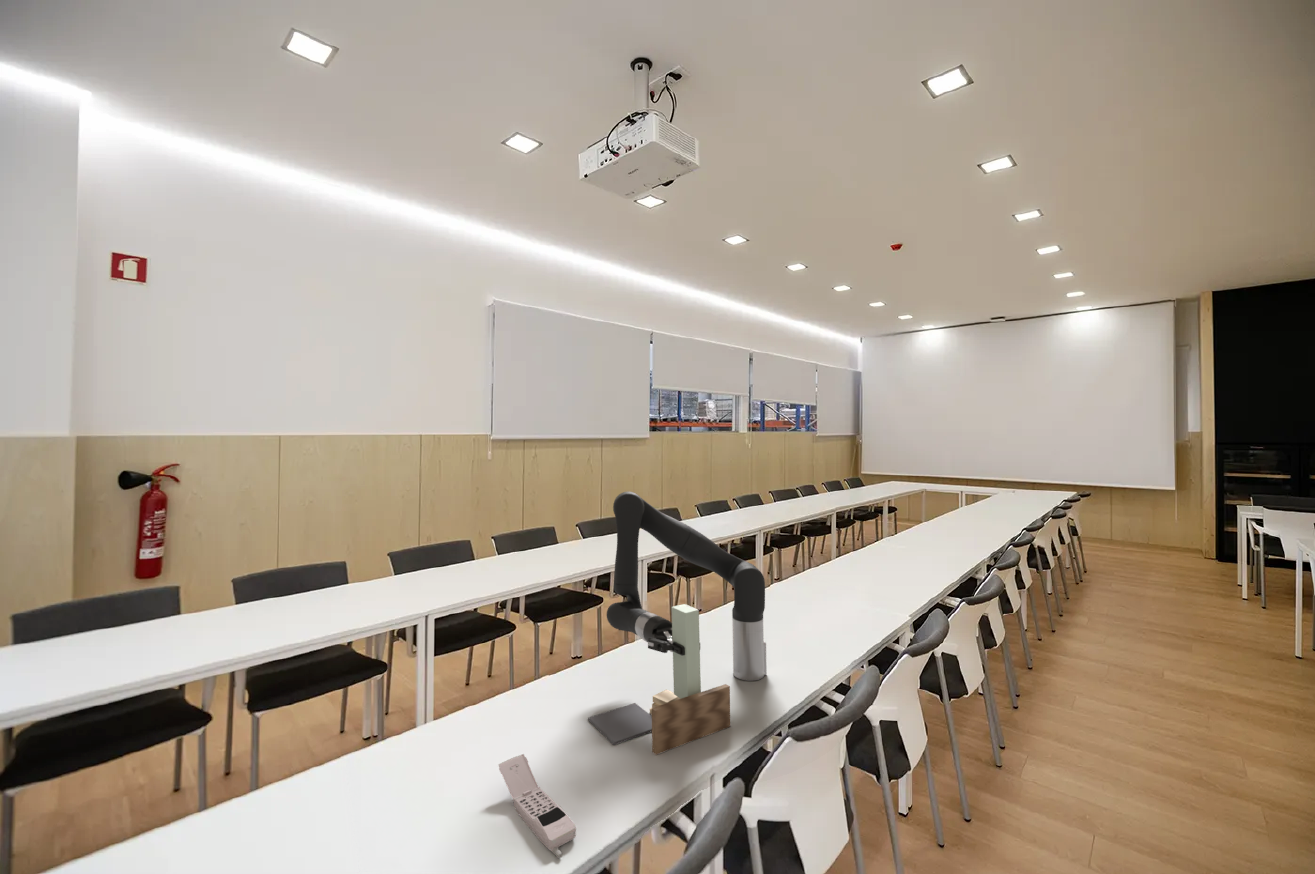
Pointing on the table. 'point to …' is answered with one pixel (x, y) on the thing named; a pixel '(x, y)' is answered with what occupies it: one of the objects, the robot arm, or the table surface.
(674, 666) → the sage green pillar
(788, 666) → the table surface
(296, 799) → the table surface
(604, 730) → the charcoal mat
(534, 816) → the mobile phone
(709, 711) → the walnut rack
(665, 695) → the offcut stack
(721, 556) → the robot arm
